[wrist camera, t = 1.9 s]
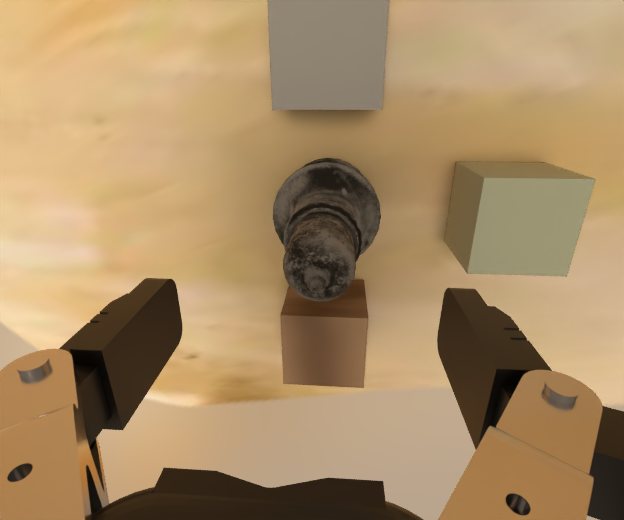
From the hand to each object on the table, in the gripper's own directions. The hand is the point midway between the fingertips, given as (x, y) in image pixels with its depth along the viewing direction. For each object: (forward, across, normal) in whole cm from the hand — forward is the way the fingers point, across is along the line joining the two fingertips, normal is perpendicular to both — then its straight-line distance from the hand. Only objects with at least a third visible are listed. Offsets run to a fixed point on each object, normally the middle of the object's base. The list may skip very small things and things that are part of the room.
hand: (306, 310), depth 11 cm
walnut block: (+14, 0, +8) cm, 16 cm away
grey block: (+14, 0, -8) cm, 16 cm away
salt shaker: (+14, 0, 0) cm, 14 cm away
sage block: (+14, -10, 0) cm, 17 cm away
